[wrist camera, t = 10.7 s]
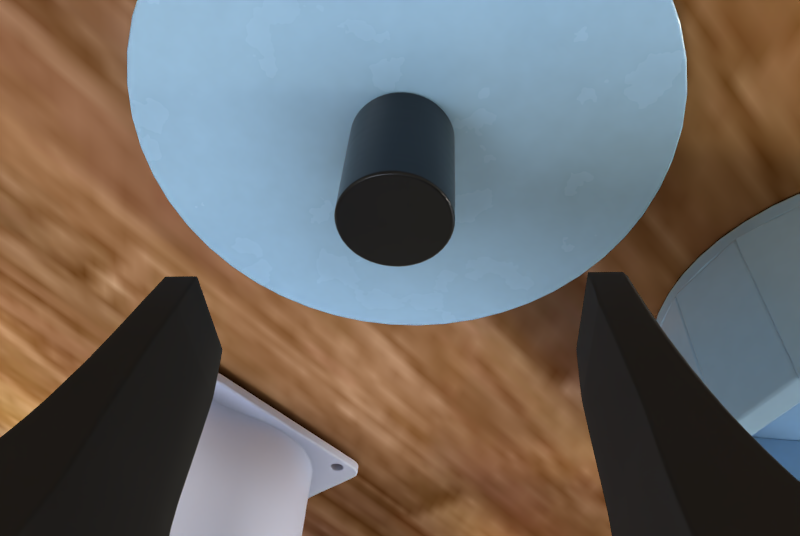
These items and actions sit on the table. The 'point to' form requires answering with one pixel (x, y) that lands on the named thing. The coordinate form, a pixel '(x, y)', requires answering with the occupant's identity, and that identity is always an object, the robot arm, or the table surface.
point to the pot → (747, 326)
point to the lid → (408, 141)
